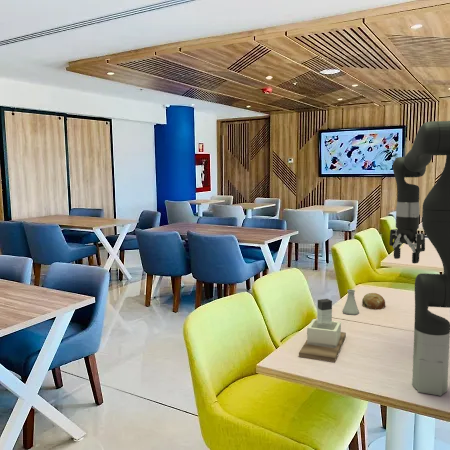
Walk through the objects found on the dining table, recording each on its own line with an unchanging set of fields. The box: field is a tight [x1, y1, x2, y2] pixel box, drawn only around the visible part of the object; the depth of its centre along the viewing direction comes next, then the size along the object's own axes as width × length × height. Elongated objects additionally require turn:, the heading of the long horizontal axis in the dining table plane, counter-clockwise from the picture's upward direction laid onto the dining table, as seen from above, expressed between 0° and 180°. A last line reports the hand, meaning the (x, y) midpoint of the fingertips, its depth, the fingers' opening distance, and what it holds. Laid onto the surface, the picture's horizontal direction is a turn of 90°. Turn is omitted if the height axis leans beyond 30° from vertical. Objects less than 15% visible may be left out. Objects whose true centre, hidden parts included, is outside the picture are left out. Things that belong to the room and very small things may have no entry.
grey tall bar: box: [316, 298, 333, 330], centre depth 160 cm, size 3×4×14 cm
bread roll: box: [361, 292, 386, 311], centre depth 204 cm, size 10×10×8 cm
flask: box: [342, 288, 360, 316], centre depth 195 cm, size 7×7×10 cm
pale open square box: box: [306, 318, 342, 348], centre depth 161 cm, size 10×10×6 cm
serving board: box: [298, 331, 347, 363], centre depth 160 cm, size 24×12×2 cm, turn 157°
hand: (405, 260), depth 158 cm, fingers open, 8 cm apart
